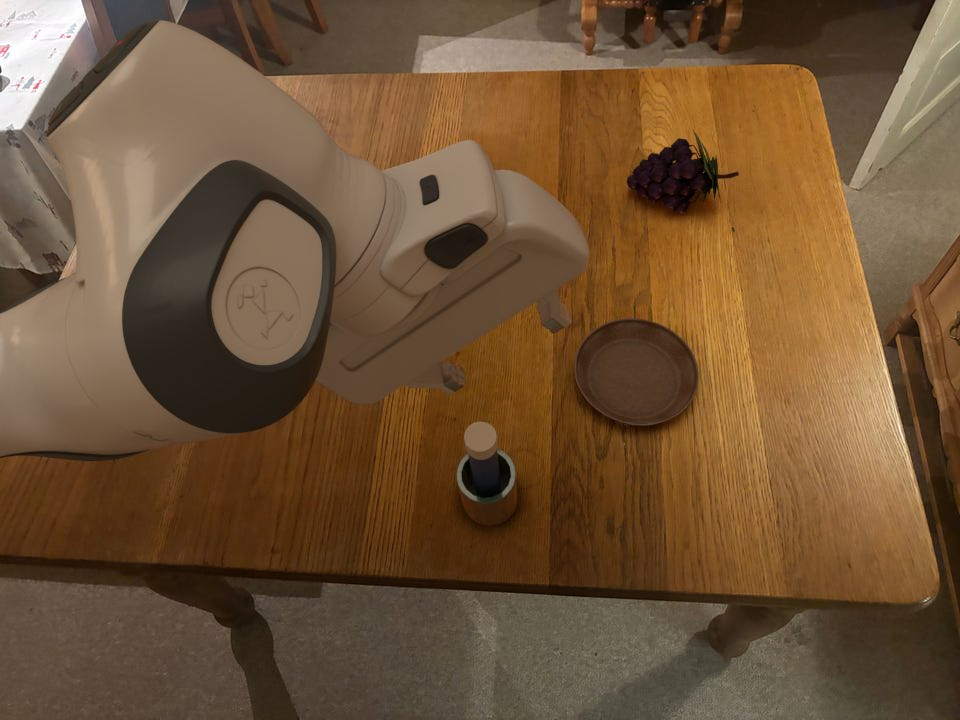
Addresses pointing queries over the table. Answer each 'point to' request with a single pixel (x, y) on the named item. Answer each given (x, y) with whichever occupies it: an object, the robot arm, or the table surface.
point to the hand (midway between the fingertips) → (508, 353)
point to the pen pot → (490, 507)
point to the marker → (483, 458)
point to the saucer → (636, 371)
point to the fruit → (677, 175)
